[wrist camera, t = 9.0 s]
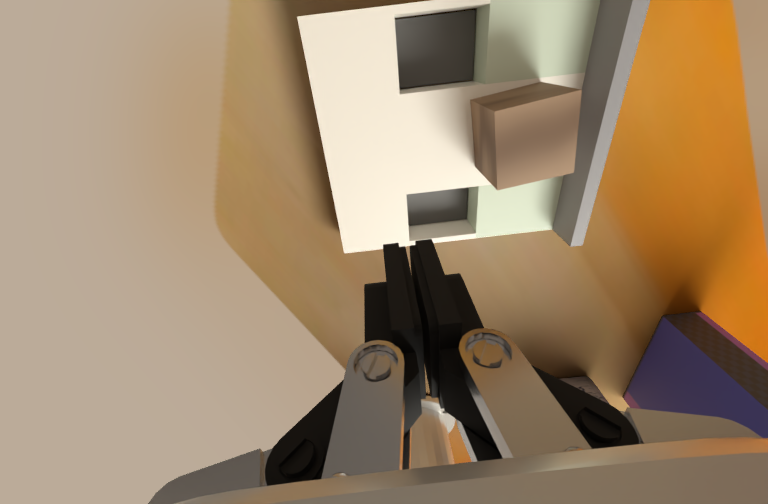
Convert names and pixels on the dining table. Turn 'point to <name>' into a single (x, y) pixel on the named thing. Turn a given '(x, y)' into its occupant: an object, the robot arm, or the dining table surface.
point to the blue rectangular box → (701, 373)
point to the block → (526, 133)
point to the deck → (459, 111)
